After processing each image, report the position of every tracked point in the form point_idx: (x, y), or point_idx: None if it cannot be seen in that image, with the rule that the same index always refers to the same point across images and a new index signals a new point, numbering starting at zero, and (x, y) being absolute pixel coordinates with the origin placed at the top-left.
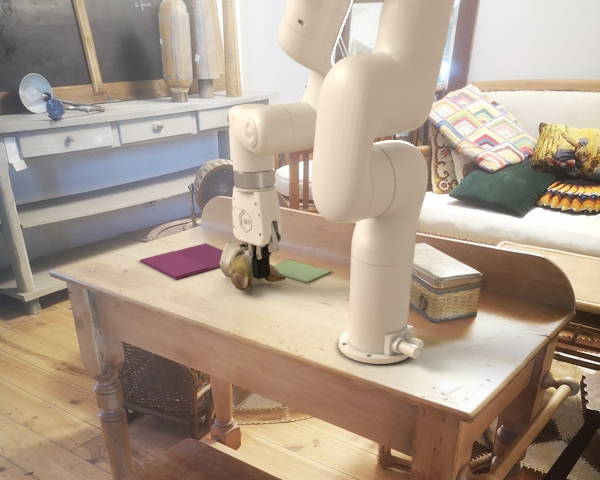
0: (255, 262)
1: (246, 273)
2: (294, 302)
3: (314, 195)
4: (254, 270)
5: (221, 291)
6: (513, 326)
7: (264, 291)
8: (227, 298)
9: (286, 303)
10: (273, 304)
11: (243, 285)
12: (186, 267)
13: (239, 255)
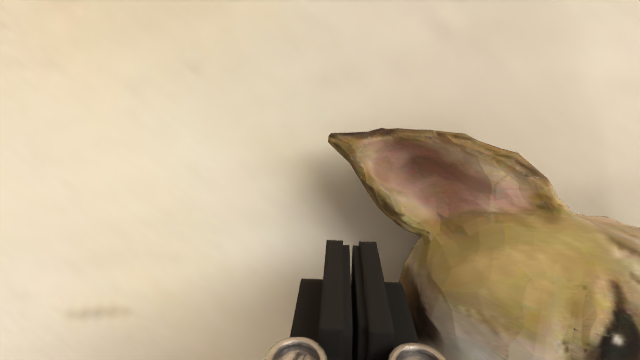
0: (334, 307)
1: (439, 241)
2: (170, 250)
3: None
4: (362, 268)
5: (529, 95)
6: None
7: (353, 245)
8: (422, 58)
9: (180, 222)
10: (204, 178)
11: (417, 180)
12: None
13: (594, 332)
